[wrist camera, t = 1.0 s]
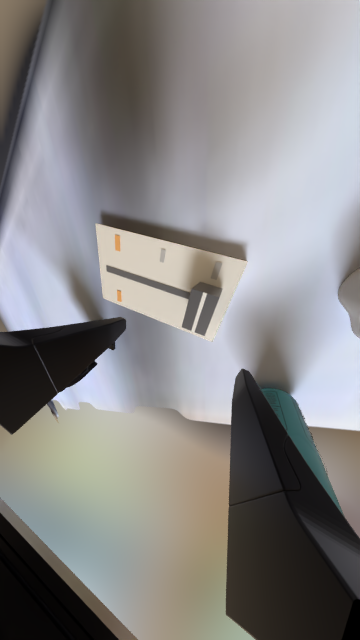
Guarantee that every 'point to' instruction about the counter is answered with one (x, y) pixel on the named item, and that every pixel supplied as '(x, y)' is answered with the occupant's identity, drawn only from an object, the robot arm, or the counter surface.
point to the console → (162, 276)
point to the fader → (201, 307)
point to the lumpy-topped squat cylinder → (351, 299)
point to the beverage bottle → (299, 434)
